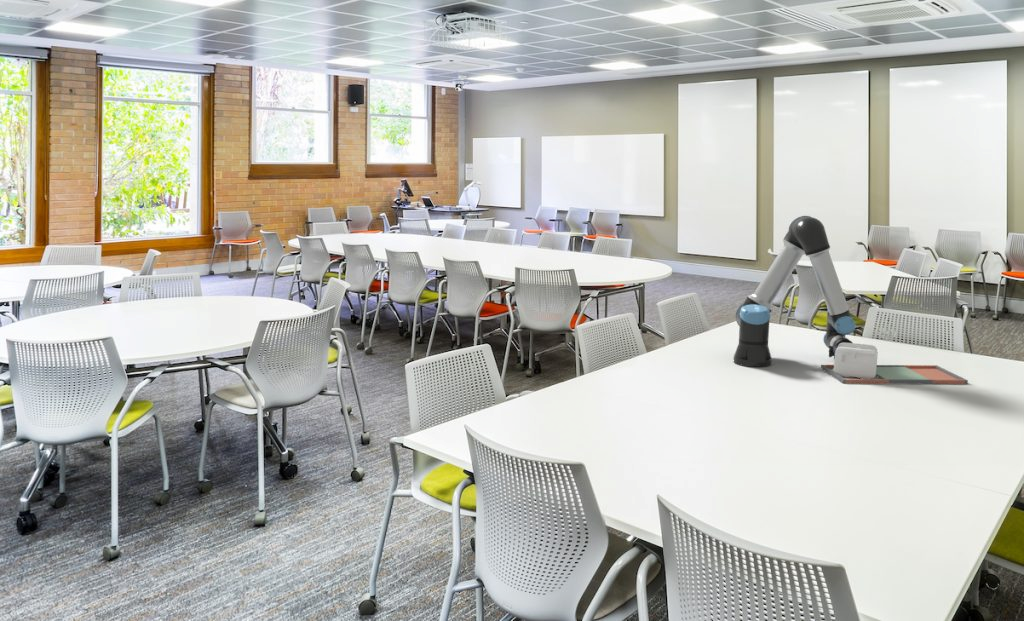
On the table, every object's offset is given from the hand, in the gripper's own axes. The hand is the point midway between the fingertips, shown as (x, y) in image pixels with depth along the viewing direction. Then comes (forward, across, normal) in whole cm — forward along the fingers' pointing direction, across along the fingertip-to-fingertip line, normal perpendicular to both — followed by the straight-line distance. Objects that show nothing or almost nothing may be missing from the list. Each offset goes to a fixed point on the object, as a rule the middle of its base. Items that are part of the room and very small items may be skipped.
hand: (859, 359), depth 301 cm
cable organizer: (-4, 0, -8) cm, 9 cm away
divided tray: (-5, -14, -8) cm, 17 cm away
